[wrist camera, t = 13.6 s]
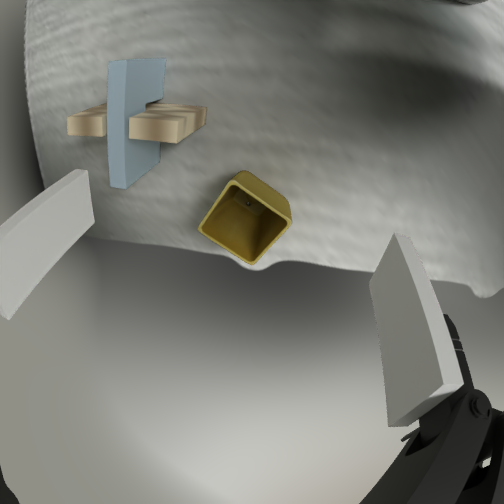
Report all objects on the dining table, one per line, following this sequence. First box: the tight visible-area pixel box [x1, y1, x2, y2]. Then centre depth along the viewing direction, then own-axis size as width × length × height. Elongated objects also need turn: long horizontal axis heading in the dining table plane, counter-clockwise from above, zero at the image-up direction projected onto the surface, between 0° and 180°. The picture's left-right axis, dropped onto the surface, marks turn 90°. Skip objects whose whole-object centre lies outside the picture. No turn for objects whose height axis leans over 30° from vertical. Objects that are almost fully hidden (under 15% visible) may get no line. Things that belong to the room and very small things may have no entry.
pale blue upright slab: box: [107, 58, 166, 189], centre depth 32 cm, size 16×2×10 cm, turn 171°
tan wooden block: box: [67, 103, 207, 143], centre depth 32 cm, size 16×2×10 cm, turn 81°
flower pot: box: [197, 171, 292, 265], centre depth 38 cm, size 9×9×9 cm
